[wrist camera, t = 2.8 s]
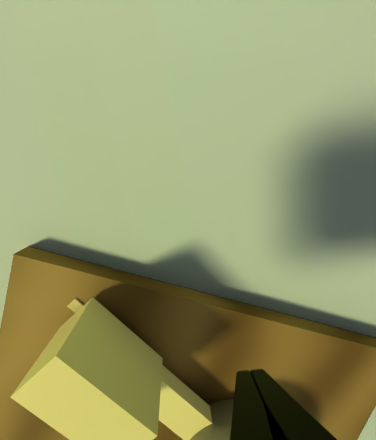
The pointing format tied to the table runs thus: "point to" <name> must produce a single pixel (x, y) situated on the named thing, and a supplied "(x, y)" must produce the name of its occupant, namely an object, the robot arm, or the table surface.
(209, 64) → the table surface
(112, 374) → the peg lever
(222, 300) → the brown flat wooden board
